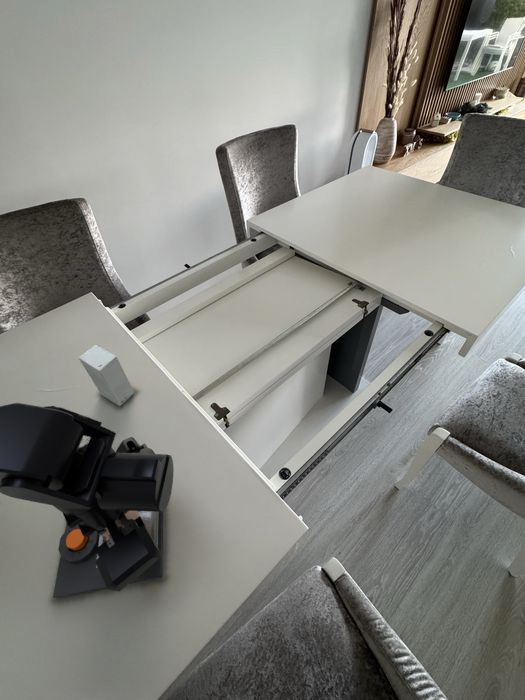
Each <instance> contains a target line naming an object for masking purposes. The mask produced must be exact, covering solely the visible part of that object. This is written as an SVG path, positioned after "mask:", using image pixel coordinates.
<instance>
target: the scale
mask: <svg viewBox="0 0 525 700" xmlns="http://www.w3.org/2000/svg"><path fill="white" fill-rule="evenodd" d="M76 529H80V528H79V526H78V525H76V526H75V527H74V528H70V527H69V526H68V524H67V522H66V523H65V529H64V532H63V534H62V535H61V537H60V539H59V544H58V549H57V550H58V552H59V555H60V557H59V562H58V567H57V573H56V578H55V584H54V589H53V595H52V598H53V599H61V598H62V599H63V598H66V597H67V598H68V597H72V596H77V595H78V596H79V595H82V594H88V593H92V592H98V591H102V590H108V589H107V587H106V585H105V583H104V580H103V578H102V576H101V574H100V571H99V569H98V568H96V559H97V552H96V548H97V547H98V543H99V535H98V533H97V531H95V532H93V533H92V534H90V535H89V536H88V541H87V543H86V545H85V546H84V547H83V548H82V549H80V550H72V549H70V548H69V547H67V545H66V538H67V536H68V535H69V533H70V532H72V531H73V530H76ZM158 548H159V550H160V556H159V560H157V561H156V562H155V563H154V564H152V565H151V566H150V567H149V568H148V569H146V570H145V571H144V572H143V573H141V574H140V575H139V576H138V577H137V578H135V579H134V580H133V581H132V582H131V583H129V584H128V585H133V584H138V583H143V582H148V581H154V580H158V579H162V578H163V573H164V571H163V569H164V558H163V557H164V511H163V512H159V518H158Z"/></svg>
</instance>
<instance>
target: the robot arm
mask: <svg viewBox="0 0 525 700" xmlns="http://www.w3.org/2000/svg"><path fill="white" fill-rule="evenodd" d="M102 423H103V422H102V421H100V420H97V419H94V418H91V417H88V416H85V415H83V414H80V413H77V412H75V411H72V410H70V409H66V408H64V407H60V406H55V405H48V406H47V405H46V406H40V405H39V406H38V405H33V404H27V403H22V402H21V403H20V402H13V403H9V404H4V405H0V494H2V495H5V496H7V497H10V498H13V499H18V500H21V501H22V500H23V501H29V502H32V503H33V502H34V503H38V504H44V505H49V506H52V507H54V508H55V509H57V510H58V511H60V512H61V513H62V515H63V517H64V520H65V522H66V523H67V524H68V526H69V527H70V528H74V527H75V526H76V525H78V526H79V528H80V530H81V532H82V535H83V536H85V537H88V536H89V535H90V534H92V533H93V532H95V531H97V533H98V535H100V536H101V535H103V534H104V533H105V532H106V531H107V529H108V531H109V533H110V534H109V535H108V536H109V538H110V539H108V540H107V541H106V542H104V543H103V544H102V545H100V546H99V547H97V548H96V552H97V554H98V556H99V557H98V559H97V560H96V565H97V567H98V569H99V571H100V574H101V576H102V578H103V580H104V583H105V585H106V587H107V589H106V590H109V591H111V592H118V593H119V592H121V591H122V590H123V589H124V588H126V587H127V586H129V585H130V584H129V583H131V582H132V581H133V580H134V579H135V578H137V577H138V576H139V575H140V574H141V573H143V572H144V571H145V570H146V569H148V568H149V567H150V566H151V565H152V564H154V563H155V562H156V561H157V560H159V556H160V550H159V548H158V547H157V545H156V543H155V541H154V540H153V538H152V536H151V534H150V533H149V531H148V530H147V528H146V526H145V524H144V523H143V521H142V519H141V517H140V516H139V517H138V518H136V519H135V520H134V519H129V520H128V519H127V517H126V515H125V513H127V512H128V511H151V512H163V513H164V512H165V510H166V509H167V507H168V504H169V502H170V499H171V495H172V490H173V484H174V473H175V472H174V460H173V457H172V455H171V454H168V453H167V454H166V453H155V451H154V450H153V449H152V448H150V447H148V446H147V444H146V443H142V444H141V445H140V444H139V442H138V441H137V440H136V439H135V438H134V437H133V436H130V437H127V438H123V440H122V441H121V442H120V444H119V445H118V447H117V448H116V450H114V448H113V444H114V441H115V439H116V435H117V433H116V432H115V431H113V430H111V429H108V428H107V427H104V426H102ZM84 436H85V437H88V438H89V440H88V442H87V443H85V444H83V445H82V446H81V444H82V441H83V439H84ZM117 519H118V520H117ZM116 520H117V521H118V522H119V521H120V522H119V524H121V525H120V527H119V526H118V524H117V522H116ZM105 528H107V529H105Z"/></svg>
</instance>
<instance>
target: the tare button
mask: <svg viewBox="0 0 525 700" xmlns="http://www.w3.org/2000/svg"><path fill="white" fill-rule="evenodd" d="M87 541H88V537H85V536H83V535H82V532H81V530H80V529H76V530H73V531H72V532H70V533H69V535H68V536H67V538H66V545H67V547H69V548H70V549H72V550H80V549H82V548H83V547H84V546H85V545H86V543H87Z"/></svg>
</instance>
